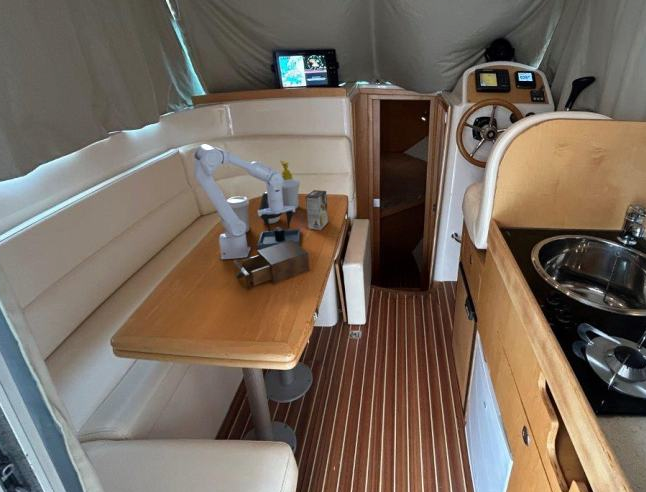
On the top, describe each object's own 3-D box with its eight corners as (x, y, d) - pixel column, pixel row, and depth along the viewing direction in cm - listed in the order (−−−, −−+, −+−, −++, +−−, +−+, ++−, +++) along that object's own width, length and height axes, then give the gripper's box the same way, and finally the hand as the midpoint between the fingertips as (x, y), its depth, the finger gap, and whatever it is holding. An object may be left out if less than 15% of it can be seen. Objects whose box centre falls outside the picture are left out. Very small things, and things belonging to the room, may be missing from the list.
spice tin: (281, 242, 151) (280, 231, 149) (273, 240, 152) (272, 230, 150) (286, 238, 155) (285, 227, 153) (278, 236, 156) (277, 226, 154)
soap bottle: (295, 202, 196) (291, 158, 187) (306, 209, 187) (302, 163, 178) (272, 207, 188) (267, 161, 180) (282, 214, 179) (277, 167, 170)
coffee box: (316, 220, 173) (313, 189, 167) (328, 222, 172) (326, 190, 166) (307, 228, 165) (305, 196, 159) (321, 230, 164) (318, 197, 158)
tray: (257, 248, 147) (257, 244, 146) (262, 235, 158) (261, 231, 157) (298, 245, 150) (298, 241, 149) (300, 233, 161) (300, 229, 160)
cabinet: (274, 283, 124) (271, 264, 121) (259, 268, 133) (257, 250, 130) (309, 270, 132) (308, 252, 129) (293, 256, 141) (292, 239, 138)
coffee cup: (257, 229, 164) (253, 198, 158) (239, 237, 156) (234, 205, 151) (243, 224, 168) (239, 194, 163) (225, 231, 161) (220, 200, 155)
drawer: (243, 291, 118) (241, 276, 116) (232, 276, 126) (229, 262, 124) (283, 276, 126) (281, 262, 124) (270, 263, 134) (268, 250, 132)
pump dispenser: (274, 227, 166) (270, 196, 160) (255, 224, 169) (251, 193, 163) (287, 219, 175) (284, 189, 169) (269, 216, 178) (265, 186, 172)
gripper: (257, 204, 141) (261, 235, 146) (294, 200, 146) (297, 230, 151) (256, 198, 147) (260, 228, 152) (292, 194, 152) (295, 223, 157)
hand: (278, 228), depth 152 cm, fingers open, 7 cm apart
